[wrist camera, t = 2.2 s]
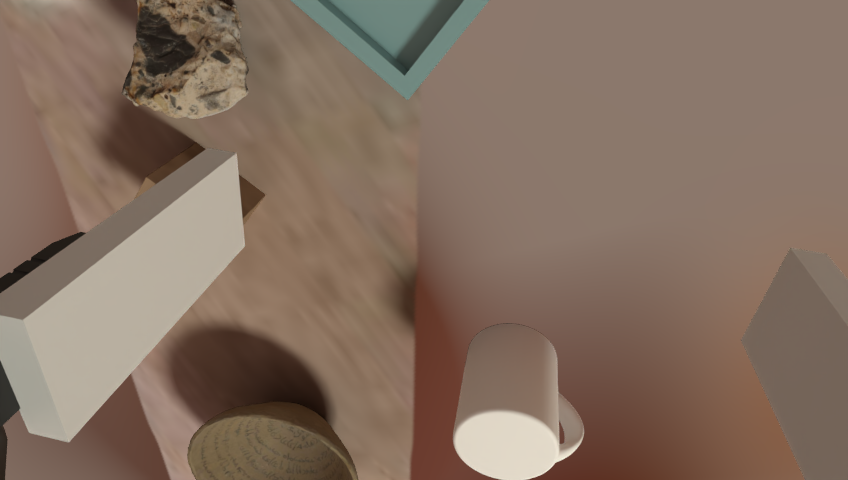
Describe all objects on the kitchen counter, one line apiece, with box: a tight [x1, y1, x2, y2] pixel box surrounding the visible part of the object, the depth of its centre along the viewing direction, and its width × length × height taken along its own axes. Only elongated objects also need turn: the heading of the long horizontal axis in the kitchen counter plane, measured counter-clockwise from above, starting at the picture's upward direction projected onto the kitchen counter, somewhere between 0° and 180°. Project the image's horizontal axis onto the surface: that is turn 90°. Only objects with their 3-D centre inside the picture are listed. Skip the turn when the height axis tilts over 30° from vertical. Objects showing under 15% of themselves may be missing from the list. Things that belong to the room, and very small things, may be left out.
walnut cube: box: [135, 143, 265, 226], centre depth 46 cm, size 7×7×7 cm
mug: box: [453, 323, 584, 480], centre depth 47 cm, size 8×10×12 cm
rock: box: [122, 0, 249, 119], centre depth 39 cm, size 9×7×10 cm
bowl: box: [187, 401, 358, 480], centre depth 59 cm, size 18×18×8 cm
